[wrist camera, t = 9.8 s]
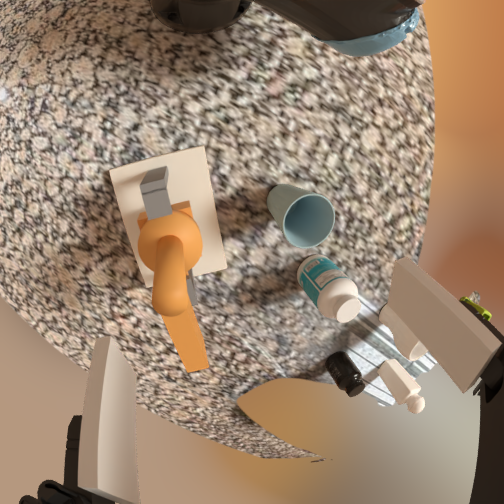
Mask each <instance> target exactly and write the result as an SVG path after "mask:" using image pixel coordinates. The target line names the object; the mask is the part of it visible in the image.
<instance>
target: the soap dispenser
mask: <svg viewBox="0 0 504 504" xmlns="http://www.w3.org/2000/svg"><path fill="white" fill-rule="evenodd" d="M377 373H378V374H379V376H380V377H381V379H382V380H383V382H384V383H385V385H386V386H387V388H388V389H389V391H390V392H391V394H392V395H393V397H394V398H395V400H396V402H397V403H398V404H399V405H400V404H403V403H407V405H408V410H409V411H410V412H412V413H419V412H421V411H422V410H423V408H424V406H425V401H424V398H423V397H420V396H419V395H418V394H417V393H418V392H419V391H420V389H421V387H420V386H419V385H418V384H417V383H416V381H415V380H414V379H413V378H412V377H411V376H410V375H409V374H408V373H407V371H406V370H405V369H404V368H403V367H402V366H401V365H400V364H399V363H398V361H397V360H396V359H390V360H385V361H384V363H383V364H382V365H381V367H380V368H379V369H378V371H377Z"/></svg>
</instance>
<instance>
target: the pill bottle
mask: <svg viewBox="0 0 504 504" xmlns="http://www.w3.org/2000/svg"><path fill="white" fill-rule="evenodd" d="M297 280H298V283H299V284H300V286H301V287H302V288H303V290H304V291H305V292H306V294H307V295H308V296H309V297H310V299H311V300H312V301H313V303H314V304H315V305H316V307H317V308H318V310H319V311H320V312H321V313H322V314H323V315H324V316H326V317H329V318H336V319H337V320H338V321H339V322H341V323H345V322H348V321H350V320H352V319H353V318H355V317H356V316H357V314H358V313H359V311H360V309H361V302H360V301H359V299H358V298H357V296H358V290H357V287H356V285H355V284H354V282H353V281H351V279H349V278H348V277H347V276H346V275H345V274H344V273H343V272H342V271H341V270H340V269H339V268H338V267H337V266H336V265H335V264H334V263H333V262H332V261H331V260H329V259H328V258H327V257H326V256H324V255H312V256H310V257H308V258H307V259H305V260H304V261H303V262H302V263H301V265H300V266H299V268H298V271H297Z"/></svg>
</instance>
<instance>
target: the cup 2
mask: <svg viewBox="0 0 504 504" xmlns="http://www.w3.org/2000/svg"><path fill="white" fill-rule="evenodd" d="M379 321H380V322H381V323H383V324H384V325H385V326H387V327H388V328H389V329H390V331H391V332H392V334H393V337H394V342H395V345H396V347H397V349H398V350H399V352H400V353H401V354H402V355H403V356H404V357H406V358H407V359H409V360H410V361H415V360H417V359H419V358H421V357H422V356H423V355H424V354H426V353H427V352H428V350H427V349H426V347H425V346H424V345H423V344H422V343H421V342H420V340H419V339H418V338H417V337H416V336H415V335H414V333H413V332H412V331H411V330H410V329H409V328H408V327H407V326H406V324H405V323H404V322H403V321H402V320H401V319H400V318H399V317H398V316H397V314H396V313H395V312H394V311H393V310H392V309H391V308H390V307H389V306H388V305H387V304H386V305H385V306H384V307H383V308H382V310H381V312H380V314H379Z"/></svg>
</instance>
